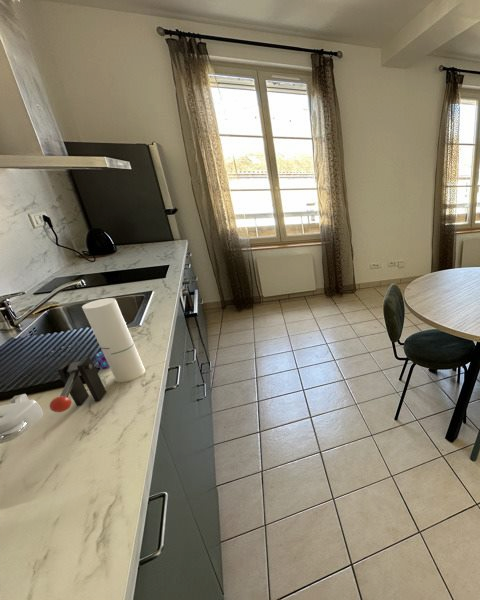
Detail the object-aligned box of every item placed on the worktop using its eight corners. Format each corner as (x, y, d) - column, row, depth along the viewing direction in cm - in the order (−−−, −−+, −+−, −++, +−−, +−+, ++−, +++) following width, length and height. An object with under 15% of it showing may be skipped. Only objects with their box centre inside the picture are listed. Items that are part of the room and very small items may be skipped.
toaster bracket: (104, 411, 86) (83, 371, 81) (61, 422, 83) (37, 380, 78) (122, 385, 96) (104, 348, 91) (84, 394, 93) (64, 355, 89)
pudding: (96, 361, 110) (90, 348, 108) (139, 352, 114) (133, 339, 112) (81, 381, 100) (74, 366, 98) (129, 369, 104) (123, 355, 102)
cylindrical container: (129, 371, 103) (97, 298, 93) (152, 370, 103) (122, 297, 93) (111, 386, 96) (74, 309, 87) (135, 385, 96) (100, 308, 86)
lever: (71, 412, 78) (62, 404, 76) (52, 417, 77) (42, 408, 75) (90, 367, 88) (83, 358, 86) (74, 371, 87) (66, 362, 85)
